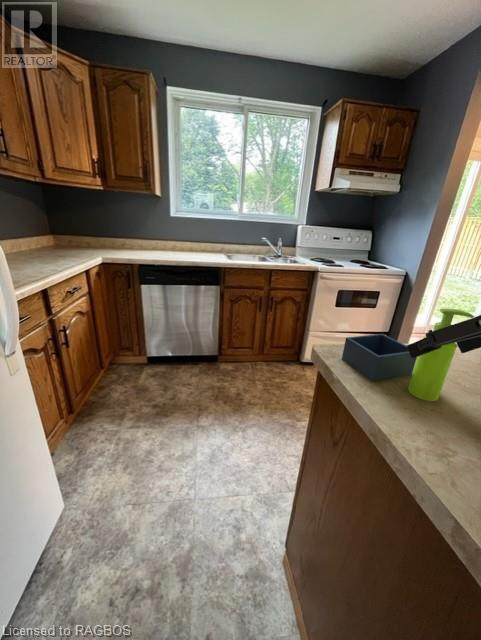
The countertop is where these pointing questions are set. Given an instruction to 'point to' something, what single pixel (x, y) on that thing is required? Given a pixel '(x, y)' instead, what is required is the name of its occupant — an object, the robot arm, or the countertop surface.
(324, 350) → the countertop surface
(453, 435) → the countertop surface
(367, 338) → the box
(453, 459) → the countertop surface
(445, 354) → the soap dispenser
